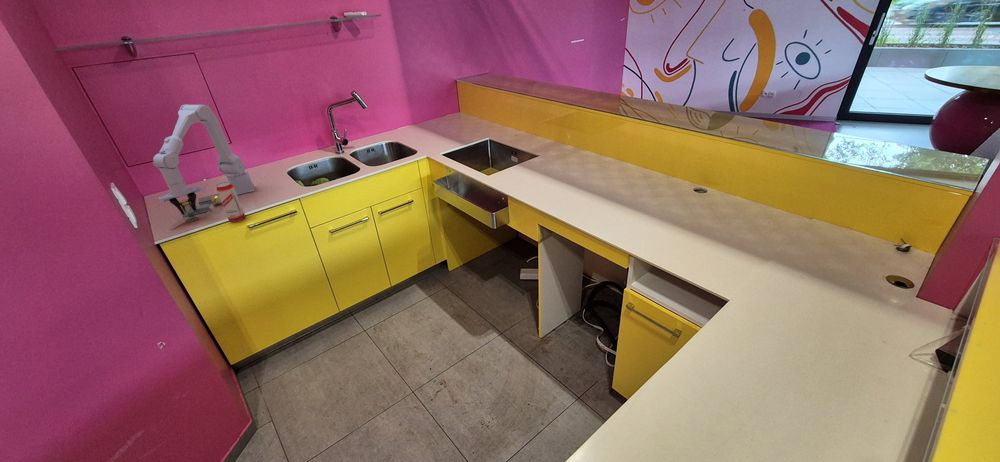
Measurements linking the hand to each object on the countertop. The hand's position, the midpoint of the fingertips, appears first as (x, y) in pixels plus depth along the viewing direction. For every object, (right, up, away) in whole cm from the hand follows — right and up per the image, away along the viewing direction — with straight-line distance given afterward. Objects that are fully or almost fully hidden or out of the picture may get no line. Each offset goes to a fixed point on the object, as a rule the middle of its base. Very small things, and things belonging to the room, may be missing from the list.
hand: (189, 211), depth 176 cm
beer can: (+20, -3, +1) cm, 20 cm away
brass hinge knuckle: (-3, +1, +9) cm, 10 cm away
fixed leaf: (-1, +5, +16) cm, 16 cm away
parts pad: (0, -3, +2) cm, 4 cm away
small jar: (0, -1, +1) cm, 2 cm away
